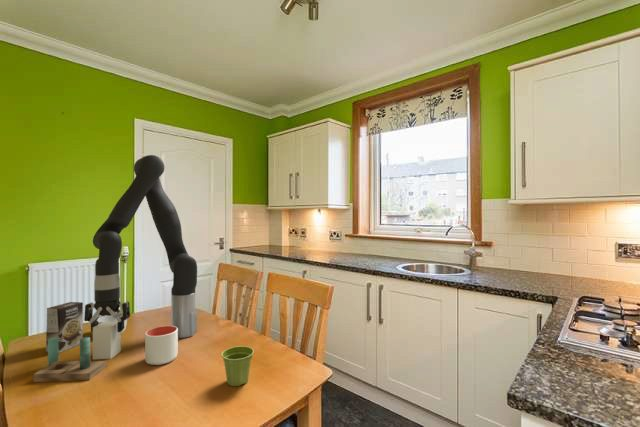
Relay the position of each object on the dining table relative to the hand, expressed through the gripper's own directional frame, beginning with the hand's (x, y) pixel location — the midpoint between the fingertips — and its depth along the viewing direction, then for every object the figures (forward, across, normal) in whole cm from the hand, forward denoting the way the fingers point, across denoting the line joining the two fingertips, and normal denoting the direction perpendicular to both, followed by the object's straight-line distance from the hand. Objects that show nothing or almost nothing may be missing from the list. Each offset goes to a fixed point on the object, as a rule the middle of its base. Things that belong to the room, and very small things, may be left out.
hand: (107, 332), depth 110 cm
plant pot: (+9, -50, +21) cm, 55 cm away
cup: (+9, -21, +5) cm, 23 cm away
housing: (+8, 0, 0) cm, 8 cm away
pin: (+8, +13, +7) cm, 17 cm away
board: (+8, -1, +13) cm, 15 cm away
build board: (+8, +7, +13) cm, 17 cm away
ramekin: (+9, +12, -22) cm, 27 cm away
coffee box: (+8, +20, -8) cm, 23 cm away
